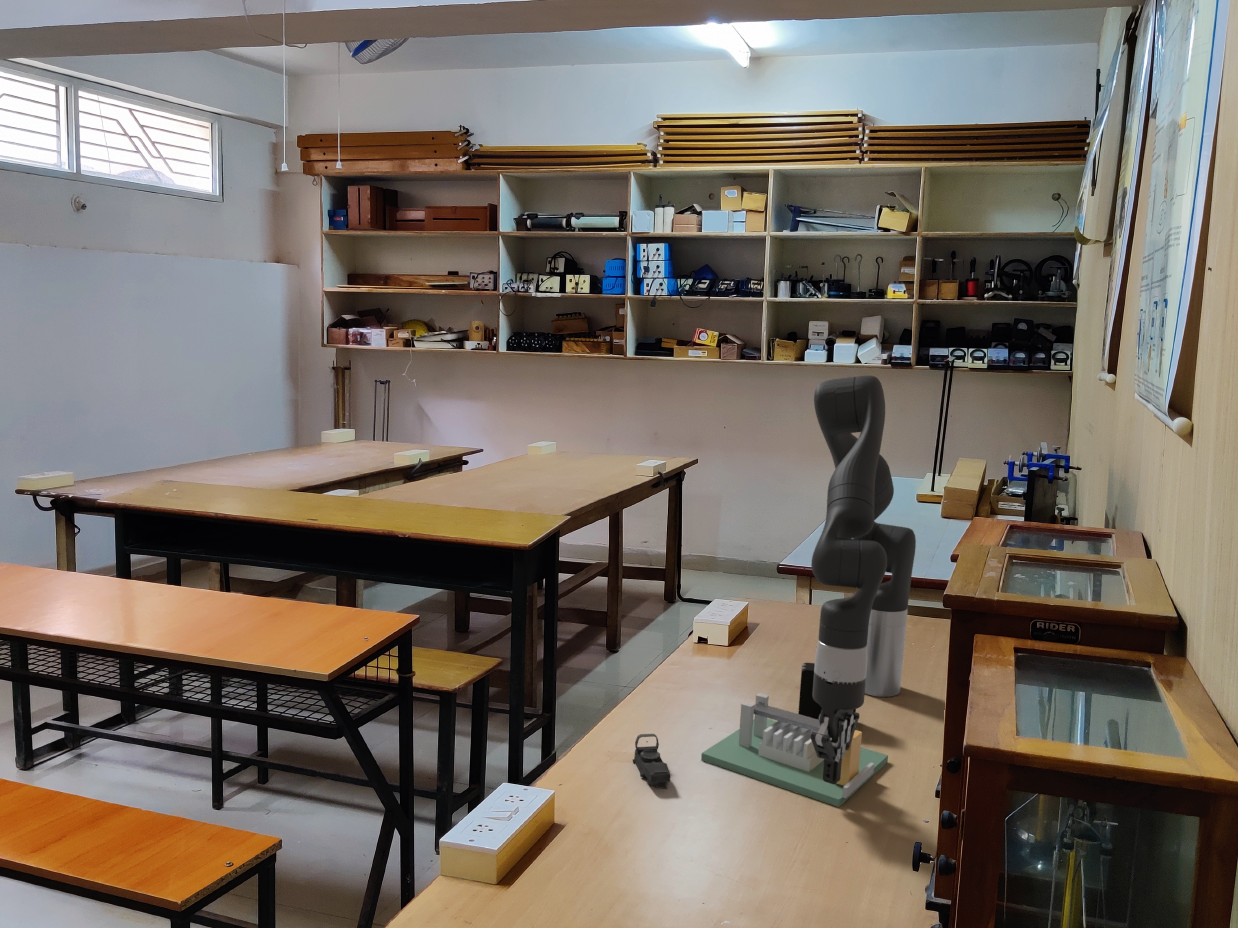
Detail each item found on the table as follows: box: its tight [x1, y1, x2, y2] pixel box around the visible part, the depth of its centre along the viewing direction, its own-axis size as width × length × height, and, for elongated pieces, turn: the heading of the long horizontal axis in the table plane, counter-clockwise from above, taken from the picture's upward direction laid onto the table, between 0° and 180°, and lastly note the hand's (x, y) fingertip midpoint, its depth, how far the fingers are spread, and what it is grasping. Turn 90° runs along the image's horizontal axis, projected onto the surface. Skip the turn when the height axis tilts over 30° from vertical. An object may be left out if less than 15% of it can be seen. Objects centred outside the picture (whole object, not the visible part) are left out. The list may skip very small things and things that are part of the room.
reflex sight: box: [632, 733, 671, 789], centre depth 155 cm, size 4×10×5 cm, turn 12°
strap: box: [753, 702, 820, 732], centre depth 162 cm, size 4×16×1 cm, turn 54°
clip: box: [837, 729, 863, 786], centre depth 153 cm, size 4×5×8 cm
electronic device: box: [797, 662, 857, 720], centre depth 179 cm, size 4×10×10 cm, turn 78°
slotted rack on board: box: [700, 692, 889, 808], centre depth 162 cm, size 20×25×8 cm
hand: (831, 781), depth 148 cm, fingers closed
